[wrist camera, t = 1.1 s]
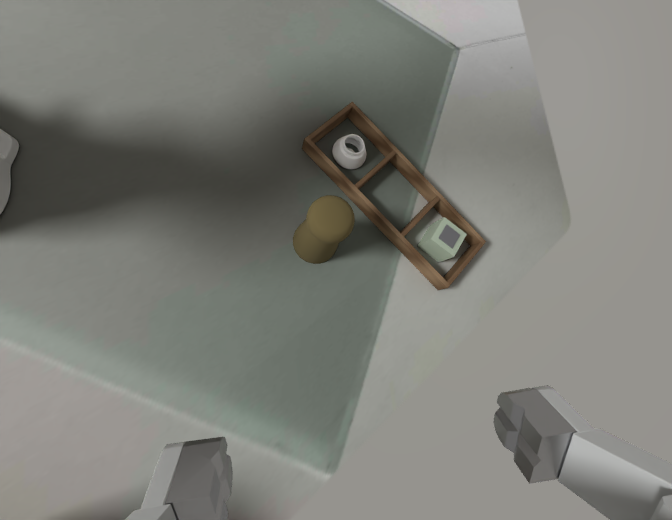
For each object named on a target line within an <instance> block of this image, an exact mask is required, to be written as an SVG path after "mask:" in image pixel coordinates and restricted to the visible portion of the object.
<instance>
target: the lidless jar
mask: <svg viewBox="0 0 672 520" xmlns="http://www.w3.org/2000/svg"><path fill="white" fill-rule="evenodd" d="M345 143H350V144H353V145H355V146H356V147H357V148H358V150H359V151H360V152H358V153H355V152H354V150H352V149H351V148H346V146H345ZM332 153H333V157H334V159H335V160H336V162H337V163H338V164H339V165H340V166H342V167H343V168H347V169H357V168H359V167H360V166H362V164H363V163H364V162H365V160H366V155H367V153H366V149H365V144H364V141H363V139H362V138H361V137H360V136H358V135H355V134H350V135H346V136H343V137H341V138H339V139H338V140H337V141H336V142H335V143H334V145H333V150H332Z"/></svg>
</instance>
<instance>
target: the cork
mask: <svg viewBox="0 0 672 520" xmlns="http://www.w3.org/2000/svg"><path fill="white" fill-rule="evenodd" d="M354 222H355V219H354V213H353V210H352V208H351V206H350V205H349V204H348V203H347V202H346V201H345V200H343V199H342V198H340V197H337V196H332V195H327V196H323V197H320V198H319V199H317V200H316V201H314V202H313V203H312V205H311V206H310V207H309V210H308V213H307V216H306V220H305V221H304V222H303V223H302V224H301V225H300V226H299V227H298V228H297V230H296V231H295V233H294V237H293V246H294V249H295V251H296V253H297V254H298V255H299V257H300V258H302V259H303V260H305V261H306V262H309V263H313V264H320V263H323V262H326V261H327V260H329V259H330V258H331V257H332V256H333V255H334V253H335V251H336V249H337V247H338V244H339V242H341V241H343V240H344V239H345V238H347V237H348V236H349V235H350V233H351V232H352V230H353V226H354Z"/></svg>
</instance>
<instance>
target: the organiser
mask: <svg viewBox="0 0 672 520" xmlns="http://www.w3.org/2000/svg"><path fill="white" fill-rule="evenodd" d="M347 118H349V119H350V120H351V121H352V122H353V124H354V125H355V126H356V127H357V128H358V129H359V130H360V131H361V132H362V133H363V134H364V135H365V136H366V137H367V138H368V139H369V140H370V141H371V142H372V143H373V144H374V146H375V147H376V148H377V149H378V150H379V151H380V152H381V153H382V154H383V155H384V156H385V158H384V159H383V160H382V161H381V162H380V163H379V164H377V165H376V166H375V167H374V168H373V169H372V170H371V171H370V172H369V173H367V174H366V175H365V176H364V177H363V178H362V179H361V180H360V181H359V182H357V183H356V184H355V185H354V184H353V183H352V182H351V181H350V180H349V179H348V178H347V177H346V176H345V175H344V174H343V173H342V172H341V171H340V170H339V169H338V168H337V167H336V166H335V164H334V163H333V162H332V161H331V160H330V159H329V158H328V157H327V156H326V155H325V154H324V153H323V152H322V151H321V150H320V149H319V148H318V147H317V146H316V145H315V143H316V142H318V141H319V140H320V139H321V138H323V137H324V136H325V135H326V134H328V133H329V132H330V131H331V130H333V129H334V128H335V127H336V126H338V125H339V124H340V123H342V122H343V121H344V120H345V119H347ZM302 149H303V150H304V151H305V152H306V153H307V155H308V156H309V157H310V158H311V159H312V160H313V161H314V162H315V163H316V164H317V165H318V166H319V167H320V168H321V169H322V170H323V171H324V172H325V173H326V174H327V175H328V176H329V177H330V178H331V180H332V181H333V182H334V183H335V184H336V185H337V186H338V187H339V188H340V189H341V190H342V191H343V192H344V193H345V194H346V195H347V196H348V197H349V198H350V199H351V200H352V201H353V202H354V203H355V204H356V206H357V207H358V208H359V209H360V210H361V211H362V212H363V213H364V214H365V215H366V216H367V217H368V218H369V219H370V220H371V221H372V222H373V223H374V224H375V225H376V226H377V227H378V228H379V229H380V231H381V232H382V233H383V234H384V235H385V236H386V237H387V238H388V239H389V240H390V241H391V242H392V243H393V244H394V245H395V246H396V247H397V248H398V249H399V250H400V251H401V252H402V253H403V254H404V255H405V257H406V258H407V259H408V260H409V261H410V262H411V263H412V264H413V265H414V266H415V267H416V268H417V269H418V270H419V271H420V272H421V273H422V274H423V275H424V276H425V277H426V278H427V279H428V280H429V282H430V283H431V284H432V285H433V286H434V287H435V288H436V289H437V290H441V289H446V288H448V287H449V286H450V285H451V283H452V282H453V281H454V280H455V279H456V277H457V276H458V275H459V274H460V273H461V271H462V270H463V269H464V268H465V267H466V265H467V264H468V263H469V262H470V261H471V259H472V258H473V257H474V256H475V255H476V253H477V252H478V251H479V250H480V248H481V247H482V246H483V245H484V244H485V242H486V241H485V240H484V239H483V238H482V237H481V236H480V235H479V234H478V233H477V232H476V231H475V230H474V229H473V228H472V226H471V225H470V224H469V223H468V222H467V221H466V220H465V219H464V218H463V217H462V216H461V215H460V214H459V213H458V212H457V211H456V210H455V209H454V208H453V207H452V206H451V204H450V203H449V202H448V201H447V200H446V199H445V198H444V197H443V196H442V195H441V194H440V193H439V192H438V191H437V190H436V189H435V188H434V187H433V186H432V185H431V183H430V182H429V181H428V180H427V179H426V178H425V177H424V176H423V175H422V174H421V173H420V172H419V171H418V170H417V169H416V168H415V167H414V166H413V165H412V164H411V163H410V161H409V160H408V159H407V158H406V157H405V156H404V155H403V154H402V153H401V152H400V151H399V150H398V149H397V148H396V147H395V146H394V145H393V144H392V143H391V142H390V140H389V139H388V138H387V137H386V136H385V135H384V134H383V133H382V132H381V131H380V130H379V129H378V128H377V127H376V126H375V125H374V124H373V123H372V122H371V121H370V120H369V118H368V117H367V116H366V115H365V114H364V113H363V112H362V111H361V110H360V109H359V108H358V107H357V106H356V105H355V104H354V103H353V102H351V103H350V104H349V105H347V106H346V107H345V108H343V109H342V110H341V111H340V112H338V113H337V114H336V115H334V116H333V117H332V118H331V119H329V120H328V121H327V122H325V123H324V124H323V125H322V126H320V127H319V128H318V129H316V130H315V131H314V132H312V133H311V134H310V135H309V136H307V137H306V138H305V139H304V142H303V146H302ZM389 162H391V163H392V164H393V165H394V166H395V168H396V169H397V170H398V171H399V172H400V173H401V174H402V175H403V176H404V177H405V178H406V179H407V180H408V181H409V182H410V183H411V184H412V185H413V186H414V187H415V188H416V190H417V191H418V192H419V193H420V194H421V195H422V196H423V197H424V198H425V199H426V200H427V201H428V202H429V203H428V204H427V205H426V206H425V207H424V208H423V209H422V210H421V211H420V212H419V213H418V214H417V215H416V216H415V217H414V218H413V219H412V220H411V221H410V222H409V223H408V224H407V225H406V226H405V227H404V228H403V229H402V230H401V231H400V232H399V231H398V230H397V229H396V228H395V227H394V226H393V225H392V224H391V223H390V222H389V221H388V220H387V219H386V218H385V217H384V216H383V214H382V213H381V212H380V211H379V210H378V209H377V208H376V207H375V206H374V205H373V204H372V203H371V202H370V201H369V200H368V199H367V198H366V197H365V196H364V195H363V194H362V193H361V192H360V191H359V189H360V188H361V187H362V186H363V185H364V184H366V183H367V182H368V181H369V180H370V179H371V178H372V177H373V176H374V175H375V174H377V173H378V172H379V171H380V170H381V169H382V168H383V167H384V166H385V165H386V164H388V163H389ZM432 207H434V208H435V209H436V210H437V211H438V213H439V214H440V215H441V216H442V217H445V218H446V219H448V220H449V221H450V222H452V223H453V224H454V225H456V226H457V227H458V228H459V229H461V230H462V231H463V232H465V233H466V234H467V235H466V237H465V238H464V240H465V241H466V242H467V243H468V244H469V245H470V247H469V248H468V249H467V250H466V251H465V252H464V254H463V255H462V256H461V257H460V258H459V260H458V261H457V262H456V263H455V264H454V265H453V267H452V268H451V269H450V270H449V271H448V272H447V274H446V275H445V276H444V277H442V276H441V275H440V274H439V273H438V272H437V271H436V270H435V269H434V268H433V267H432V266H431V265H430V263H429V262H428V261H427V260H426V259H425V258H424V257H423V256H422V255H421V254H420V253H419V252H418V251H417V250H416V249H415V248H414V247H413V246H412V245H411V244H410V243H409V242H408V241H407V240H406V238H405V237H404V236H405V235H406V234H407V233H408V232H409V231H410V230H411V229H412V228H413V227H414V226H415V225H416V224H417V223H418V222H419V221H420V220H421V219H422V218H423V217H424V215H425V214H426V213H427V212H428V211H429V210H430V209H431V208H432Z"/></svg>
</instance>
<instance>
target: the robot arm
mask: <svg viewBox="0 0 672 520" xmlns="http://www.w3.org/2000/svg"><path fill="white" fill-rule="evenodd" d="M18 149H19V143H18V141H17V140H16V139H15V138H13V137H12V136H11V135H9V134H8V133H6V132H5V131H3V130H2V129H0V214H1V213H2V211H3V210H4V208H5V206H6V203H7V201H8V198H9V194H10V188H11V178H10V169H11V165H12V163H13V161H14V159H15V157H16V155H17V152H18ZM497 403H498V404H499V406H500V408H499V409H498V410H497V412H496V413H495V415H494V426H495V430H496V433H497V435H498V438H499V439H500V441H501V442H502V444H503V446H504V447H506V448H507V449H509V450H510V451H512V452H513V453H514V462H515V463H516V465H517V466H518V467H519V469H520V470H521V472H522V473H523V475H524V476H525V478H526V479H527V481H528V482H529V483H536V482H542V481H549V480H555V479H558V481H559V482H560V483H561V484H563V485H564V486H566V487H567V488H568V489H570V490H571V491H572V492H574V493H575V494H576V495H578V496H579V497H580V498H582V499H583V500H584V501H586V502H587V503H588V504H590V505H591V506H592V507H594V508H595V509H596V510H598V511H599V512H600V513H602V514H603V515H604V516H606V517H607V518H609V519H610V520H672V463H670V462H668V461H666V460H664V459H662V458H659V457H657V456H655V455H653V454H651V453H649V452H647V451H645V450H643V449H641V448H639V447H637V446H635V445H633V444H631V443H629V442H627V441H625V440H623V439H621V438H619V437H617V436H615V435H612V434H610V433H608V432H606V431H604V430H602V429H594V428H593V426H591V425H590V424H589V423H588V422H587V421H586V420H585V419H584V418H583V417H582V416H581V415H580V414H579V413H578V412H577V411H576V410H575V409H574V408H573V407H572V406H571V405H570V404H569V403H568V402H567V401H566V400H565V399H564V398H563V397H562V396H561V395H560V394H559V393H558V392H557V391H556V390H555V389H554V388H552V387H550V386H548V385H547V386H541V387H534V388H526V389H520V390H515V391H509V392H503V393H501V394H500V395H499V396H498V399H497ZM226 451H227V442H226V439H225V437H217V438H210V439H202V440H194V441H186V442H180V443H173V444H167V445H166V446H165V447H164V449H163V450H162V452H161V455H160V458H159V460H158V463H157V466H156V468H155V471H154V474H153V476H152V479H151V482H150V484H149V487H148V490H147V492H146V495H145V498H144V500H143V503H142V506H141V508H140V509H138V510H134V511H133V512H132V513H131V514H130V515H129V516H128V517H127V518H126V519H125V520H227V518H228V510H227V507H226V503H225V502H226V501H227V499H228V498H229V497H230V495H231V489H232V474H233V471H232V462H231V458H230V456H229V455H227V454H226Z"/></svg>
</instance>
